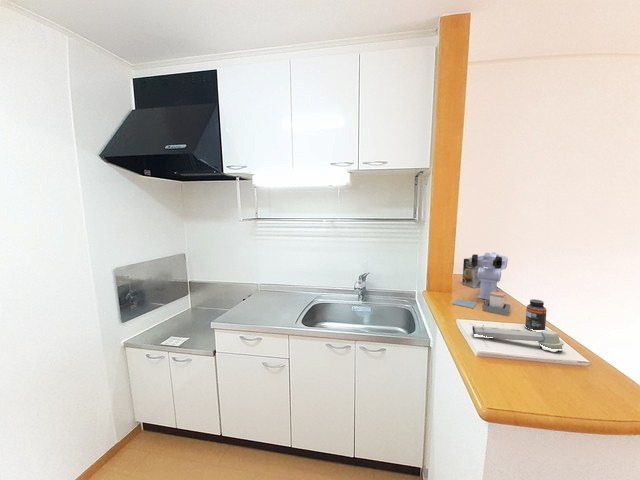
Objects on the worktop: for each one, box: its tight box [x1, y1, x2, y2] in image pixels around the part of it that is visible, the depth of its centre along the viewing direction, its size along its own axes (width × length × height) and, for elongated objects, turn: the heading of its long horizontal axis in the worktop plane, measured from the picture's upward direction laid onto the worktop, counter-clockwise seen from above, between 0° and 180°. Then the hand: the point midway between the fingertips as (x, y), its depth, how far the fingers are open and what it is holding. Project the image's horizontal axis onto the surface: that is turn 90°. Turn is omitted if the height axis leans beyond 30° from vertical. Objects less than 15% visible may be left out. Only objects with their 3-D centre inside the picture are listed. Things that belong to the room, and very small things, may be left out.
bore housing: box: [482, 299, 511, 317], centre depth 121 cm, size 10×10×2 cm
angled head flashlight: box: [471, 325, 565, 350], centre depth 91 cm, size 5×7×25 cm
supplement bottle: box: [524, 298, 547, 330], centre depth 101 cm, size 6×6×11 cm
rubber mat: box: [451, 298, 478, 309], centre depth 130 cm, size 9×9×1 cm
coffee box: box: [461, 258, 484, 289], centre depth 160 cm, size 9×6×16 cm
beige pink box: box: [489, 291, 506, 309], centre depth 121 cm, size 5×5×8 cm
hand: (483, 262), depth 122 cm, fingers open, 7 cm apart
